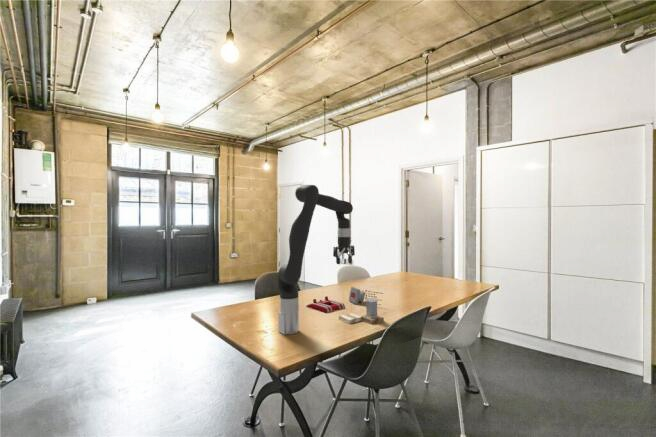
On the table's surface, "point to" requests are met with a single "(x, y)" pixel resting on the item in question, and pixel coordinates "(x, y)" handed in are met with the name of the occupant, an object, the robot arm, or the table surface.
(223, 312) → the table surface
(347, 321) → the stand
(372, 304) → the block
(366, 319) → the stand
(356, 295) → the voltmeter
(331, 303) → the fire alarm
